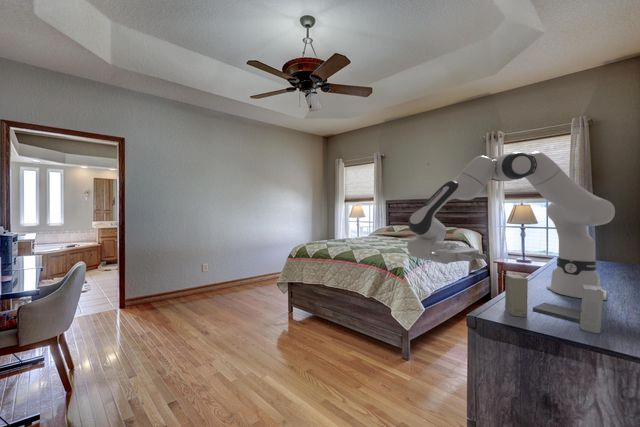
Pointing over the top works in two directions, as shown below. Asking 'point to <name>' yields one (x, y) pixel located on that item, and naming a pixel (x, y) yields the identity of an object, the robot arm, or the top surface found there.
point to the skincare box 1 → (516, 295)
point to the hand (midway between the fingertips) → (478, 258)
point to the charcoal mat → (558, 311)
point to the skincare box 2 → (591, 308)
